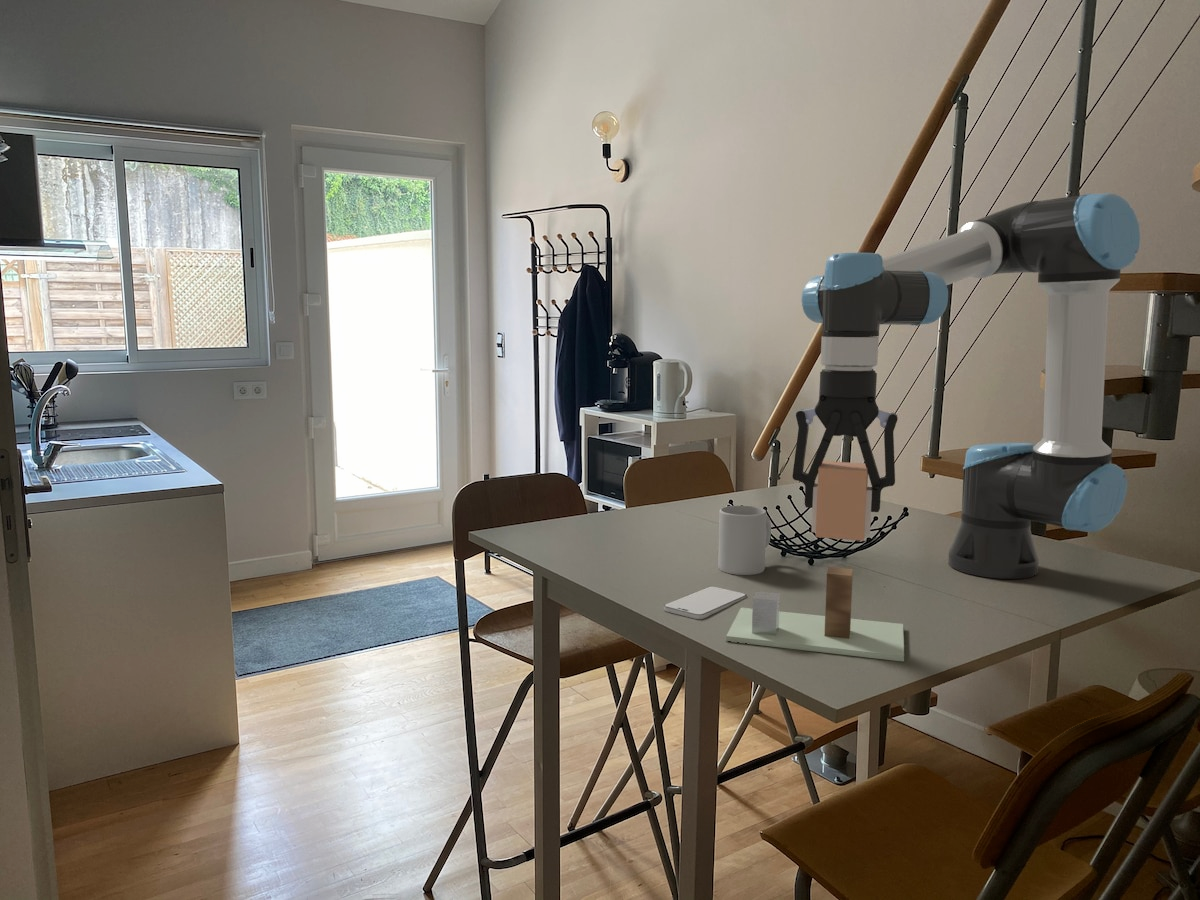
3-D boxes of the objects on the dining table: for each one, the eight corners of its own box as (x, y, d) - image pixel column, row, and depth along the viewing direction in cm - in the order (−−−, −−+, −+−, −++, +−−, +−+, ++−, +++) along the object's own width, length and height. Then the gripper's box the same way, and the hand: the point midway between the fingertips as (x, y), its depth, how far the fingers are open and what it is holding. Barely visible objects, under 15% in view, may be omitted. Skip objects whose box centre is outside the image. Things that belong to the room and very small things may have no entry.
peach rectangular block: (865, 530, 126) (868, 463, 125) (863, 540, 120) (867, 470, 119) (819, 526, 128) (822, 461, 127) (815, 537, 122) (818, 468, 121)
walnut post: (850, 635, 128) (853, 569, 126) (848, 644, 125) (852, 575, 123) (825, 633, 129) (828, 567, 127) (824, 641, 126) (826, 573, 124)
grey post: (778, 632, 129) (779, 593, 128) (775, 641, 126) (776, 600, 125) (755, 630, 130) (756, 591, 129) (751, 638, 127) (752, 598, 126)
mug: (744, 578, 156) (745, 517, 154) (708, 568, 162) (709, 509, 161) (786, 565, 164) (788, 508, 162) (750, 556, 170) (751, 500, 168)
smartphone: (748, 594, 146) (700, 615, 134) (748, 601, 146) (700, 622, 135) (710, 585, 151) (660, 605, 139) (710, 592, 151) (660, 612, 139)
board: (902, 629, 131) (903, 624, 130) (903, 661, 118) (904, 655, 118) (740, 612, 138) (740, 607, 138) (726, 641, 126) (726, 635, 126)
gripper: (922, 368, 121) (912, 531, 125) (780, 365, 127) (774, 521, 131) (924, 371, 114) (914, 544, 118) (773, 368, 120) (768, 532, 124)
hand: (840, 531), depth 124 cm, fingers closed on peach rectangular block, 6 cm apart
